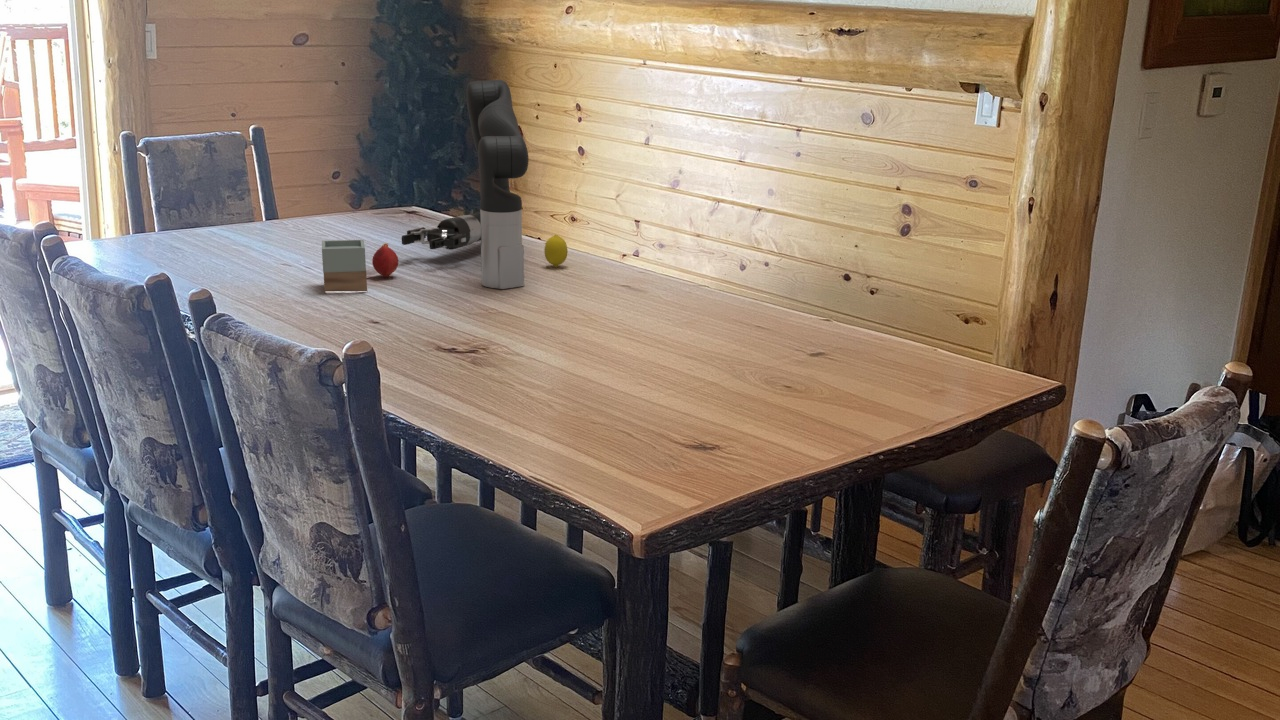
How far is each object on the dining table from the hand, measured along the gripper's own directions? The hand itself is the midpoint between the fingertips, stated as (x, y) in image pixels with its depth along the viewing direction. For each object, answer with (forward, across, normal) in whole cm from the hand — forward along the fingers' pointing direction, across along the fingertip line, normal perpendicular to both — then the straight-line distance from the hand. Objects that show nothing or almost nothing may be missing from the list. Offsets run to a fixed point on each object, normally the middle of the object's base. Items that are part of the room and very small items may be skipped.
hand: (416, 242), depth 276 cm
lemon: (-20, +26, +6) cm, 34 cm away
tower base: (+24, 0, +6) cm, 25 cm away
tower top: (+24, 0, +1) cm, 24 cm away
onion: (+11, 0, +6) cm, 13 cm away
